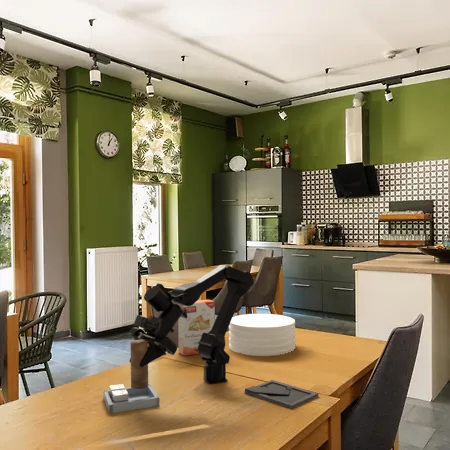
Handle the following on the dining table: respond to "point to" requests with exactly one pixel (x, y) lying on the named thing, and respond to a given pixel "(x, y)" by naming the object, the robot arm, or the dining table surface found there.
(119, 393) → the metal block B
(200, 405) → the dining table surface
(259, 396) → the picture frame
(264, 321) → the plate stack
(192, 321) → the cracker box
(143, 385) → the walnut dowel
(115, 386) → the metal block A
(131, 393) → the parts tray
